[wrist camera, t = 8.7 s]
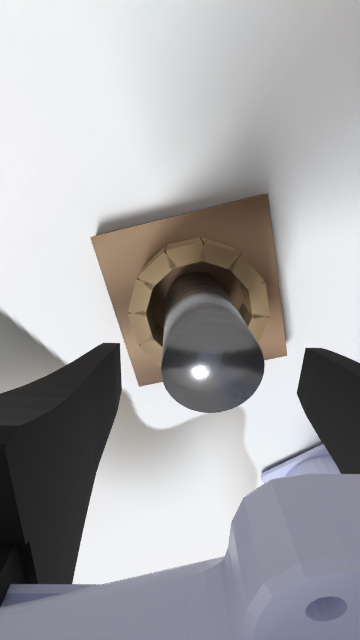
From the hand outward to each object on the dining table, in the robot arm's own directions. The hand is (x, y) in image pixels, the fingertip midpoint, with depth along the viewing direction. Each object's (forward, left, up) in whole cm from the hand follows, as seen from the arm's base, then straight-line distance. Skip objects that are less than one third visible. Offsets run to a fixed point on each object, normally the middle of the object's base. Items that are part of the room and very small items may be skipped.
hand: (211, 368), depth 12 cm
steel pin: (0, 0, -9) cm, 9 cm away
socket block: (0, 0, -10) cm, 10 cm away
